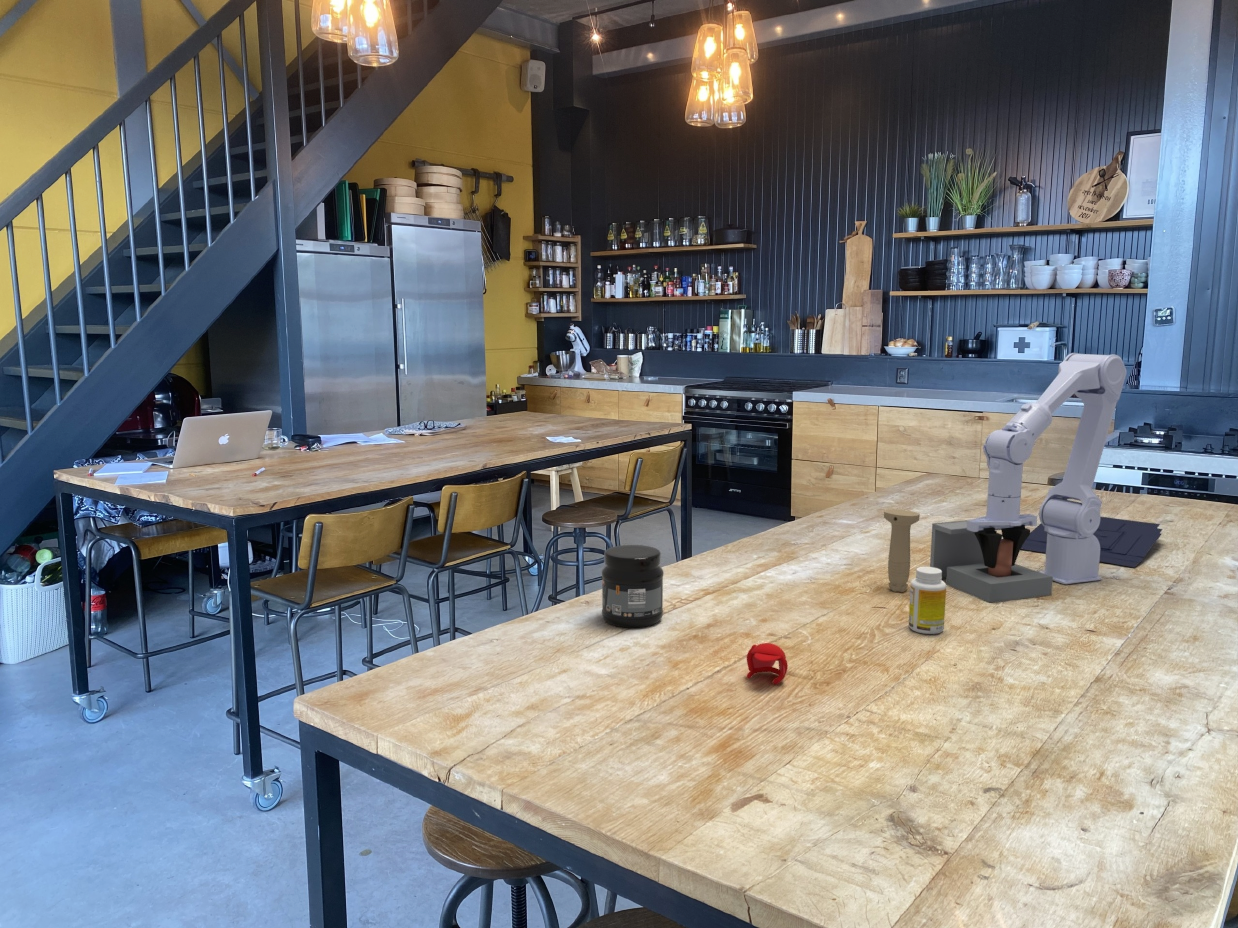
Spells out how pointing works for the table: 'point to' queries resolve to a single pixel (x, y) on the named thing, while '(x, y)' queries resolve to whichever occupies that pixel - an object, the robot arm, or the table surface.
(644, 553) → the supplement container
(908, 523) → the handle
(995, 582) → the socket stand
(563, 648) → the table surface
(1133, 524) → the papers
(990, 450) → the robot arm
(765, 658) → the red toy helmet
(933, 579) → the supplement bottle
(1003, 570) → the peg
